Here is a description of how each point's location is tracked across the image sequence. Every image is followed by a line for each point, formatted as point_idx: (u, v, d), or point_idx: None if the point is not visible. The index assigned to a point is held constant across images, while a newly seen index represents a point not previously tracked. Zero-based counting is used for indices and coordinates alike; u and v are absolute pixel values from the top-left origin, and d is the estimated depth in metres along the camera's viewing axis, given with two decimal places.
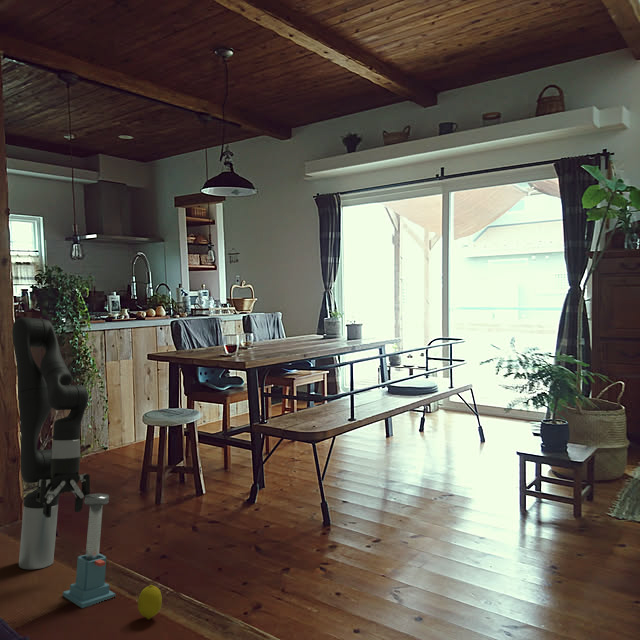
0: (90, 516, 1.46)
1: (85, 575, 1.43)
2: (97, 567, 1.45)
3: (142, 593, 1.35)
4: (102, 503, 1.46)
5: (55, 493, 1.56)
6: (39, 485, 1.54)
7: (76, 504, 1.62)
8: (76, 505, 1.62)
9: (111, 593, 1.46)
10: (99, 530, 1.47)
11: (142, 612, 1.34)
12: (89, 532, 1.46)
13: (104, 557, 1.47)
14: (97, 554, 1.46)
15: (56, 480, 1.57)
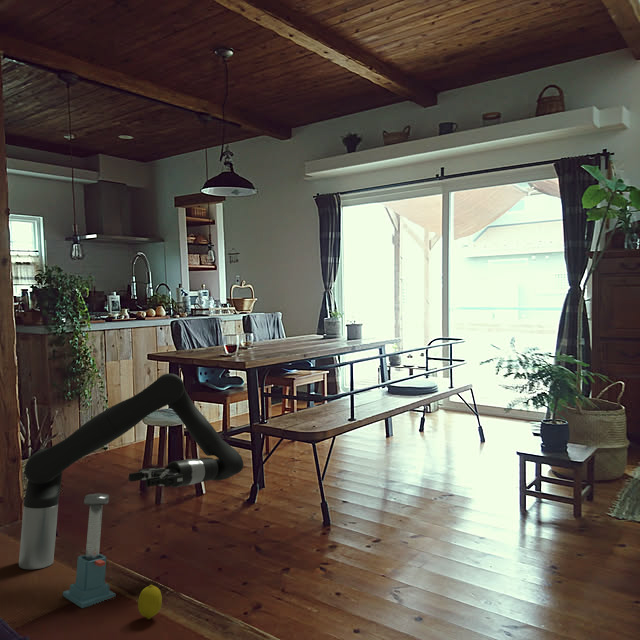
0: (90, 516, 1.46)
1: (85, 575, 1.43)
2: (97, 567, 1.45)
3: (142, 593, 1.35)
4: (102, 503, 1.46)
5: None
6: (178, 479, 1.59)
7: (136, 476, 1.61)
8: (135, 476, 1.61)
9: (111, 593, 1.46)
10: (99, 530, 1.47)
11: (142, 612, 1.34)
12: (89, 532, 1.46)
13: (104, 557, 1.47)
14: (97, 554, 1.46)
15: None
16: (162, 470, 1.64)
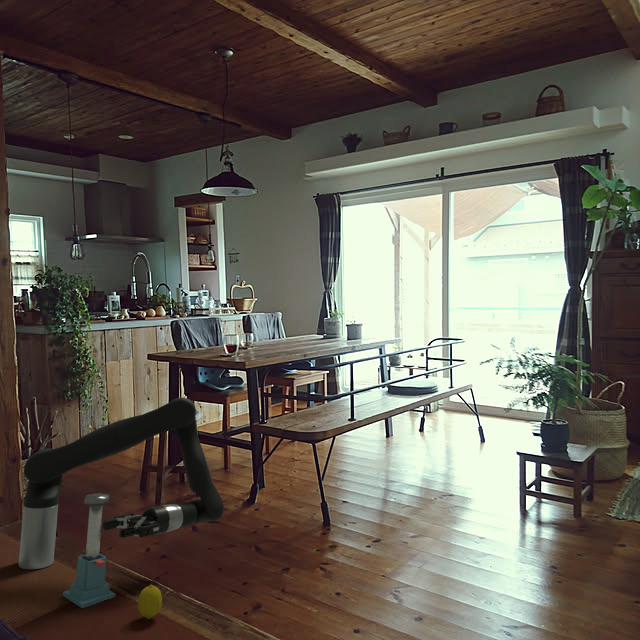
0: (90, 516, 1.46)
1: (85, 575, 1.43)
2: (97, 567, 1.45)
3: (142, 593, 1.35)
4: (102, 503, 1.46)
5: None
6: (155, 529, 1.53)
7: (110, 524, 1.55)
8: (110, 525, 1.55)
9: (111, 593, 1.46)
10: (99, 530, 1.47)
11: (142, 612, 1.34)
12: (89, 532, 1.46)
13: (104, 557, 1.47)
14: (97, 554, 1.46)
15: None
16: (138, 517, 1.58)
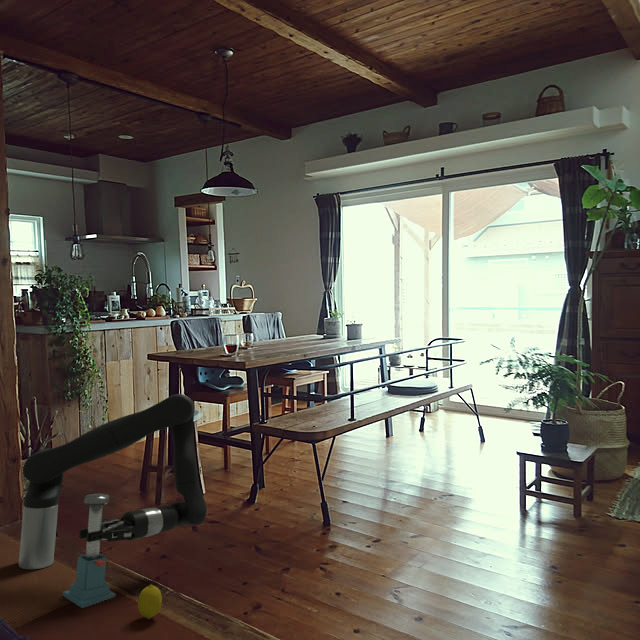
0: (90, 516, 1.46)
1: (85, 575, 1.43)
2: (97, 567, 1.45)
3: (142, 593, 1.35)
4: (102, 503, 1.46)
5: None
6: (125, 534, 1.47)
7: (87, 532, 1.47)
8: (87, 533, 1.47)
9: (111, 593, 1.46)
10: None
11: (142, 612, 1.34)
12: None
13: (104, 557, 1.47)
14: (97, 554, 1.46)
15: None
16: (117, 522, 1.53)
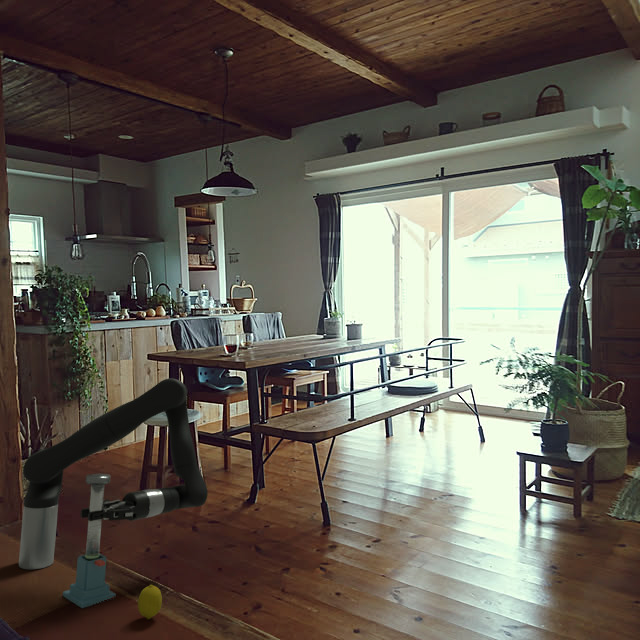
0: (91, 496, 1.46)
1: (85, 575, 1.43)
2: (97, 567, 1.45)
3: (142, 593, 1.35)
4: (104, 482, 1.46)
5: None
6: (126, 514, 1.48)
7: None
8: (88, 512, 1.48)
9: (111, 593, 1.46)
10: None
11: (142, 612, 1.34)
12: None
13: (104, 557, 1.47)
14: (99, 533, 1.47)
15: None
16: (118, 502, 1.53)
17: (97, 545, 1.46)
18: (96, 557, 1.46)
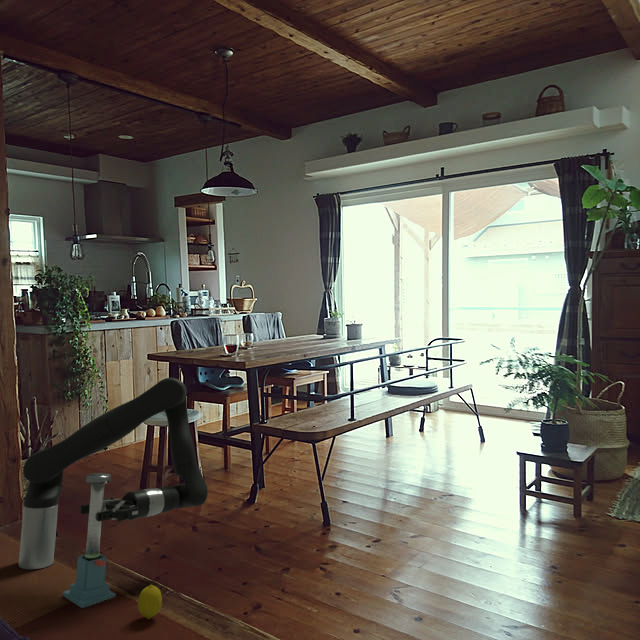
0: (91, 495, 1.46)
1: (85, 575, 1.43)
2: (97, 567, 1.45)
3: (142, 593, 1.35)
4: (104, 482, 1.46)
5: None
6: (133, 512, 1.48)
7: (88, 508, 1.50)
8: (88, 509, 1.50)
9: (111, 593, 1.46)
10: (101, 509, 1.47)
11: (142, 612, 1.34)
12: (90, 511, 1.46)
13: (104, 557, 1.47)
14: (99, 533, 1.47)
15: None
16: (117, 501, 1.53)
17: (97, 544, 1.46)
18: (96, 556, 1.46)
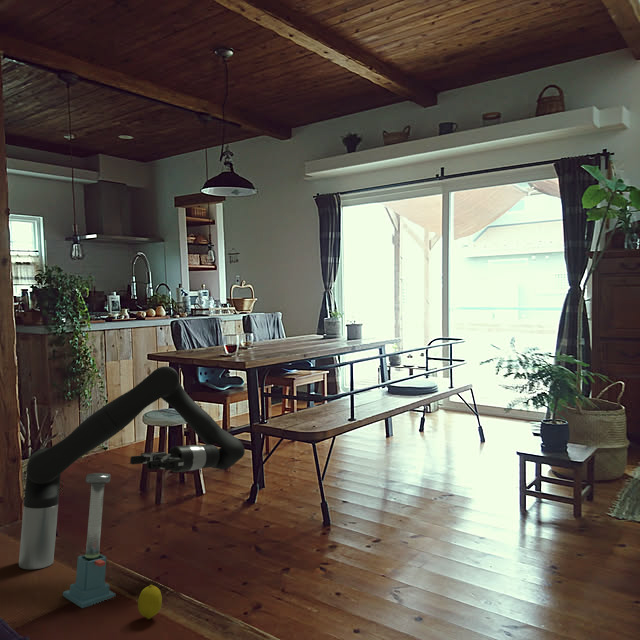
0: (91, 495, 1.46)
1: (85, 575, 1.43)
2: (97, 567, 1.45)
3: (142, 593, 1.35)
4: (104, 482, 1.46)
5: None
6: (179, 463, 1.60)
7: (138, 459, 1.62)
8: (137, 460, 1.62)
9: (111, 593, 1.46)
10: (101, 509, 1.47)
11: (142, 612, 1.34)
12: (90, 511, 1.46)
13: (104, 557, 1.47)
14: (99, 533, 1.47)
15: None
16: (164, 454, 1.65)
17: (97, 544, 1.46)
18: (96, 556, 1.46)
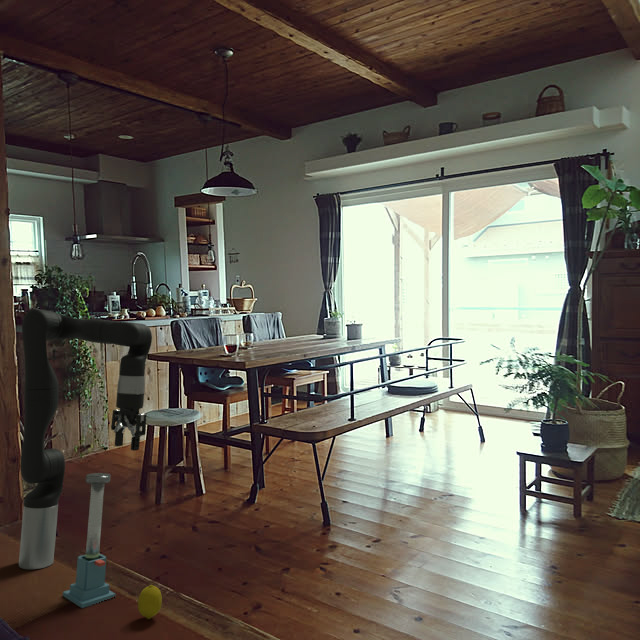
0: (91, 495, 1.46)
1: (85, 575, 1.43)
2: (97, 567, 1.45)
3: (142, 593, 1.35)
4: (104, 482, 1.46)
5: None
6: (141, 419, 1.58)
7: (119, 439, 1.65)
8: (119, 439, 1.65)
9: (111, 593, 1.46)
10: (101, 509, 1.47)
11: (142, 612, 1.34)
12: (90, 511, 1.46)
13: (104, 557, 1.47)
14: (99, 533, 1.47)
15: None
16: (122, 418, 1.62)
17: (97, 544, 1.46)
18: (96, 556, 1.46)
